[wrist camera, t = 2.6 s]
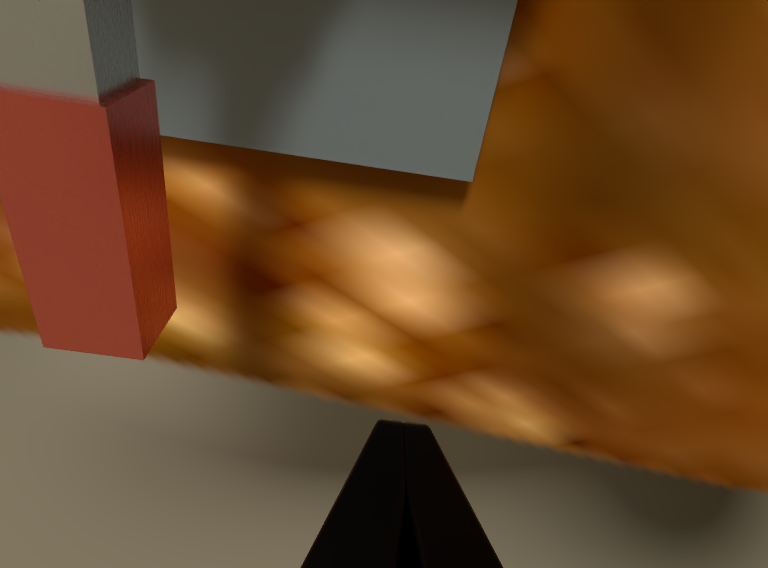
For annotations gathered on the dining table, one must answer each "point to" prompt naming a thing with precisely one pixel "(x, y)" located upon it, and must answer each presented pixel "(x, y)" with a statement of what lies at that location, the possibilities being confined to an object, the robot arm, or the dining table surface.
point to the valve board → (329, 77)
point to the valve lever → (84, 176)
